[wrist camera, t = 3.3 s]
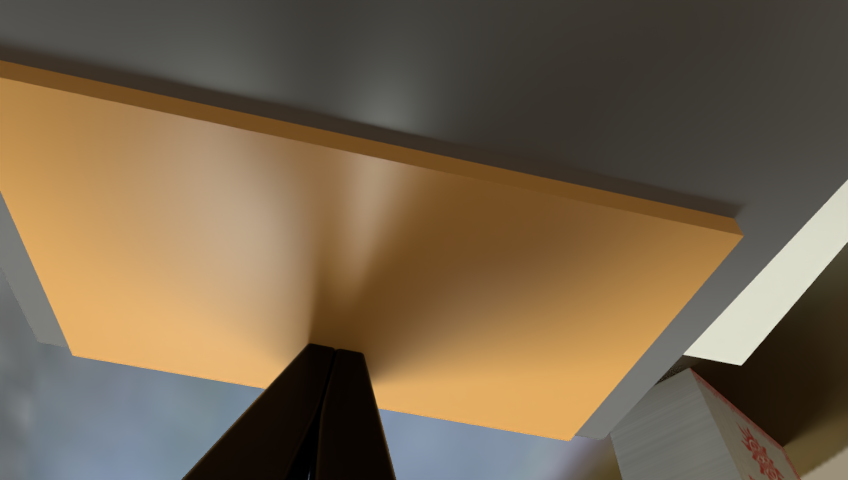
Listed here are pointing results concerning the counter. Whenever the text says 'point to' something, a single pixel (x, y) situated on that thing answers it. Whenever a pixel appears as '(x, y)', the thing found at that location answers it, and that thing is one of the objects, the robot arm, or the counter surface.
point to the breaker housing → (776, 286)
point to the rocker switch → (413, 186)
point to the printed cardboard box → (694, 437)
